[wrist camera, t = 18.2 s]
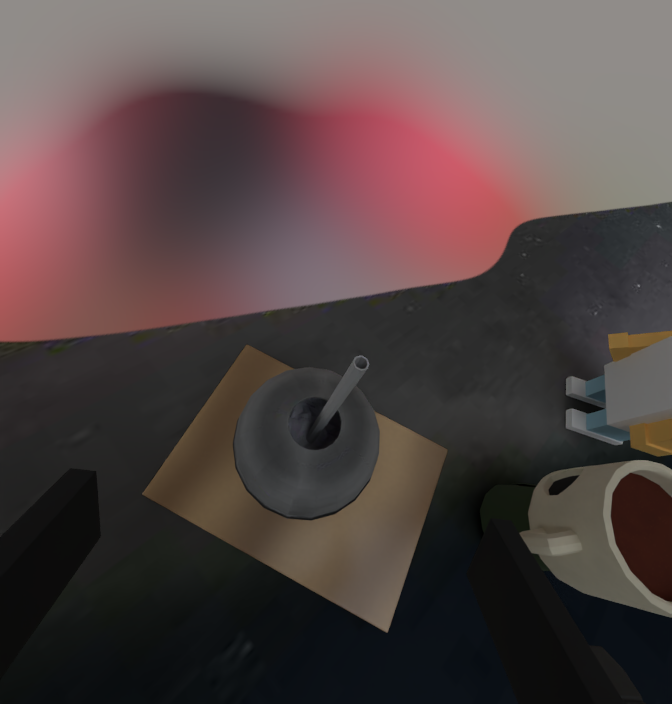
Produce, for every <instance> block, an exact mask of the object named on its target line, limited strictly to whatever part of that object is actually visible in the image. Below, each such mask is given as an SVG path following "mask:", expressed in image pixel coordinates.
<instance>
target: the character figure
mask: <svg viewBox="0 0 672 704" xmlns="http://www.w3.org/2000/svg"><path fill="white" fill-rule="evenodd" d="M608 337H609V350H610V353H611V356H612V359H613V362H611V363H608V364H606V365H604V373H605V374H604V375H602V376H599V377H597V378H594V379H592V380H590V381H585V380H582V379H579V378H576V377H573V376H571V377H569V378H566V395H567V396H569V397H572V398H575V399H578V400H581V401H584V402H587V403H590V404H593V405H596V406H599V407H602V408H605V409H603V410H600V411H597V412H593V413H590V414H587V413H585V412H582V411H579V410H576V409H573V408H571V409H568V410H566V429H569V430H572V431H575V432H578V433H581V434H584V435H587V436H590V437H593V438H596V439H599V440H601V441H604V442H607V443H610V444H613V445H620V444H623V441H625V440H630V441H631V447H632V448H635V449H638V450H640V451H643V452H646V453H649V454H652V455H655V456H664V455H672V331H665V332H655V333H645V334H636V335H628V332H627V333H617V334H608Z"/></svg>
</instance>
